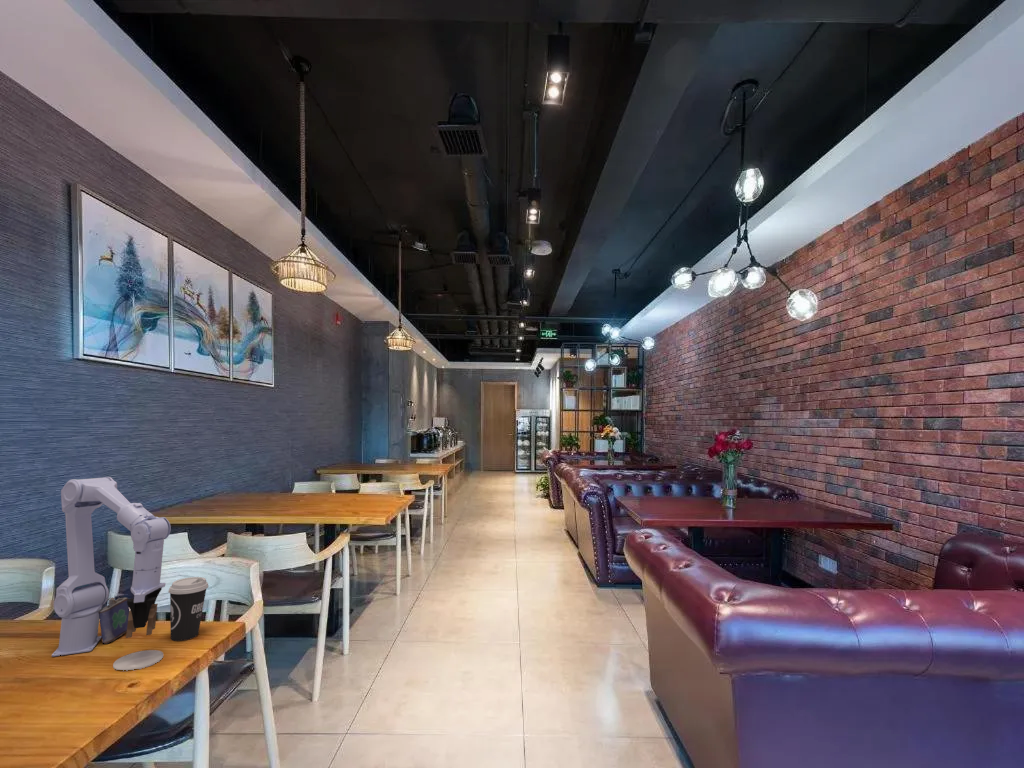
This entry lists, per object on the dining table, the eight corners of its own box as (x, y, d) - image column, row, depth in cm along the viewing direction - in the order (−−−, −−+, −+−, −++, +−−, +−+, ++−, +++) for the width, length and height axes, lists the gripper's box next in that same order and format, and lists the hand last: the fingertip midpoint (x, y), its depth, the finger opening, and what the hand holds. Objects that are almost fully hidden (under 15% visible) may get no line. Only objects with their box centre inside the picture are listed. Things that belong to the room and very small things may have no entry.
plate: (119, 656, 124) (119, 654, 124) (166, 649, 128) (166, 647, 128) (107, 674, 115) (107, 671, 115) (159, 666, 119) (159, 663, 119)
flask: (109, 643, 130) (103, 603, 131) (98, 645, 130) (92, 605, 130) (134, 627, 140) (129, 590, 140) (124, 629, 139) (119, 591, 140)
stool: (130, 631, 123) (133, 606, 124) (155, 628, 125) (157, 603, 126) (126, 637, 119) (128, 612, 119) (151, 634, 121) (153, 609, 122)
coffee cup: (184, 645, 131) (189, 587, 132) (154, 641, 133) (160, 584, 134) (212, 631, 140) (217, 577, 142) (184, 627, 142) (189, 575, 144)
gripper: (161, 573, 119) (156, 631, 118) (171, 559, 132) (166, 611, 131) (125, 576, 116) (119, 636, 114) (139, 561, 129) (134, 615, 127)
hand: (142, 623), depth 122 cm, fingers closed on stool, 5 cm apart
